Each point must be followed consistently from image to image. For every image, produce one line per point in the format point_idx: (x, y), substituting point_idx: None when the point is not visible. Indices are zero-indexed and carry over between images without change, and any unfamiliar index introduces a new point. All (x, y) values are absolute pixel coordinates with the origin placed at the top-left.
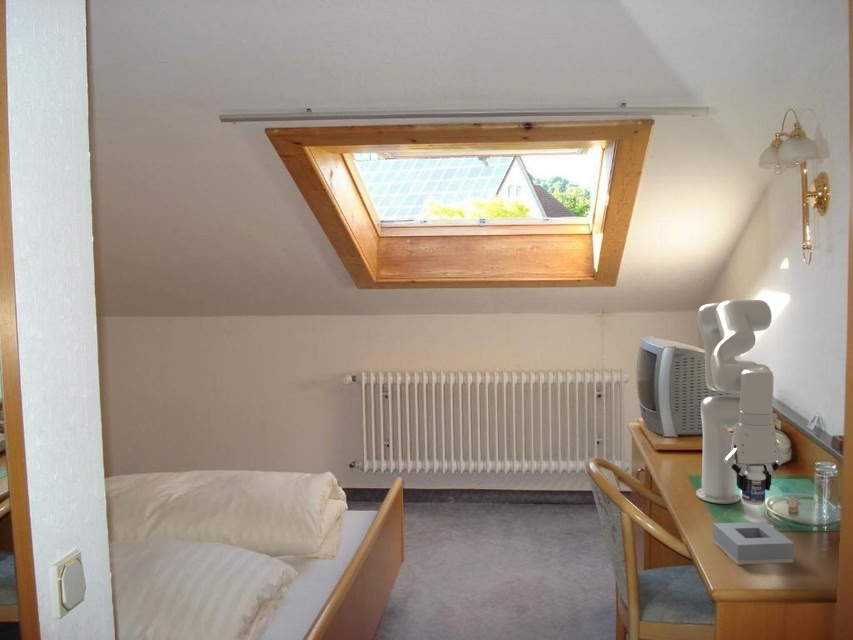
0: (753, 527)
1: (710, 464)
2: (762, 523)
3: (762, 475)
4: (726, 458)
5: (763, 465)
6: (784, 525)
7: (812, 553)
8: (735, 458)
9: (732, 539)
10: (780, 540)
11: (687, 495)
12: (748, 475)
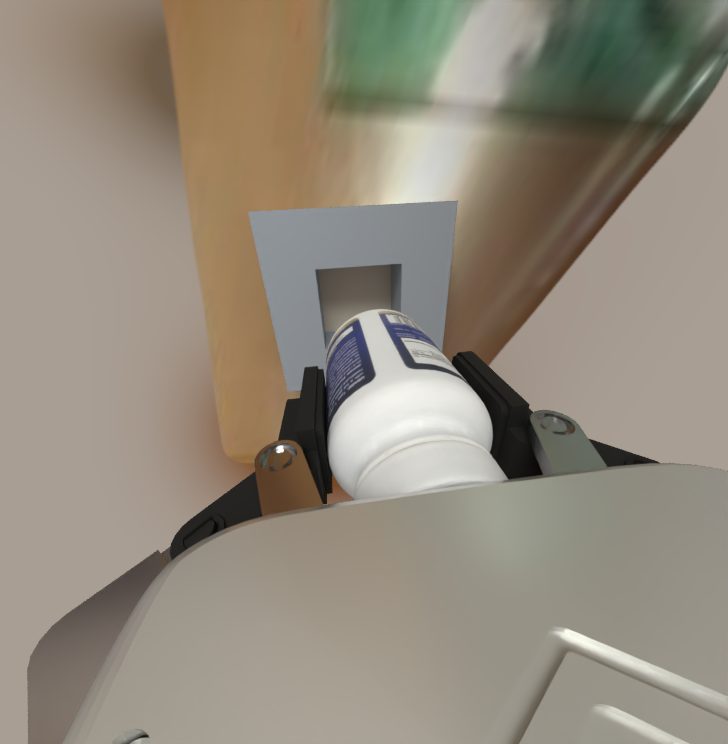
0: (386, 260)
1: None
2: (437, 219)
3: None
4: (46, 701)
5: (546, 474)
6: (587, 39)
7: (499, 303)
8: (239, 540)
9: (283, 357)
10: None
11: None
12: (350, 495)
